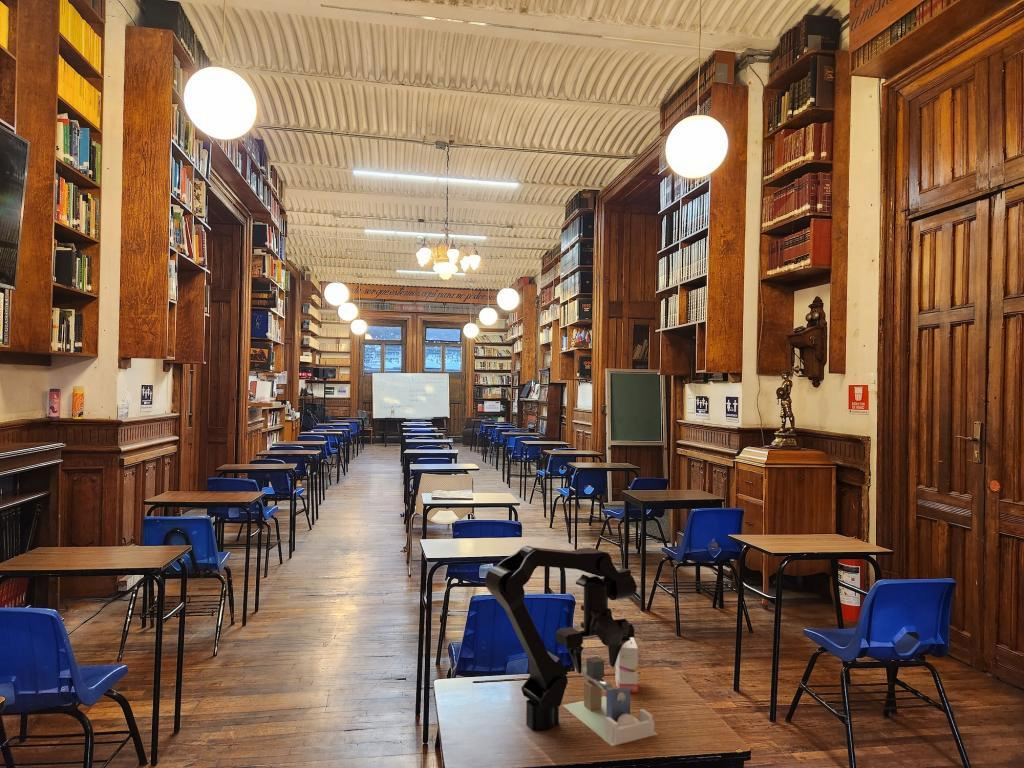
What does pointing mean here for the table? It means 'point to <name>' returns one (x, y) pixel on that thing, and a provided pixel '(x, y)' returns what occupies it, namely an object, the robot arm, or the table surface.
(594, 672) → the player rod
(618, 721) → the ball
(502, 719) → the table surface
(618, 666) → the ink cartridge box
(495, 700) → the table surface
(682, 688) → the table surface
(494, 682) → the table surface
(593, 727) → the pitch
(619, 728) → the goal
